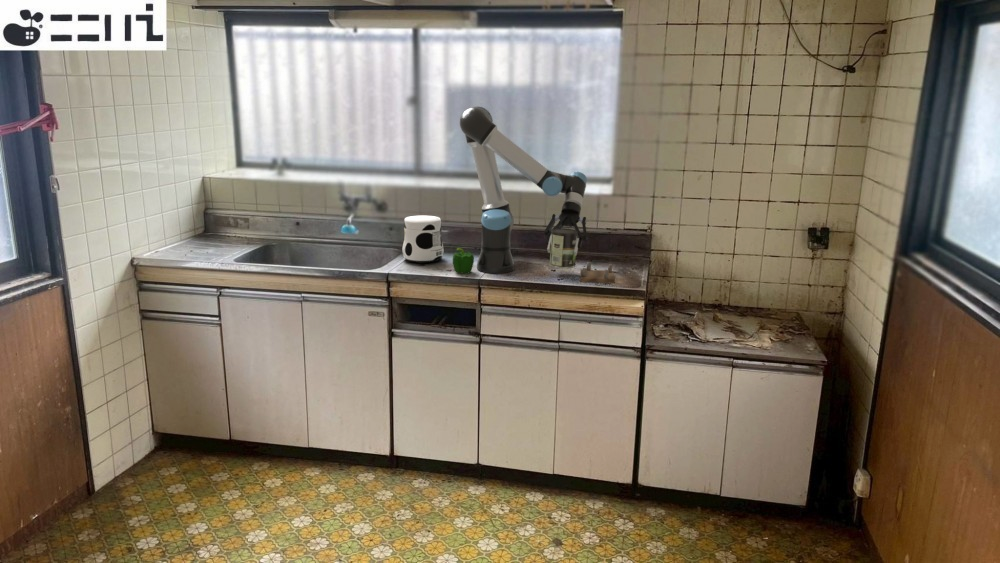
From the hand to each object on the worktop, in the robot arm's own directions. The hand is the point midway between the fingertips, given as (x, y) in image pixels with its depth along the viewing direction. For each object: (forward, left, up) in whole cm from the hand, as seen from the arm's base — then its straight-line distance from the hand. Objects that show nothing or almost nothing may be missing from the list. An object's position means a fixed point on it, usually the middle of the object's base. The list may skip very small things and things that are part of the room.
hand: (561, 252), depth 277 cm
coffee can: (0, +3, -6) cm, 7 cm away
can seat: (+14, 0, -10) cm, 17 cm away
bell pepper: (-39, 0, -10) cm, 40 cm away
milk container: (-59, +17, -10) cm, 62 cm away
